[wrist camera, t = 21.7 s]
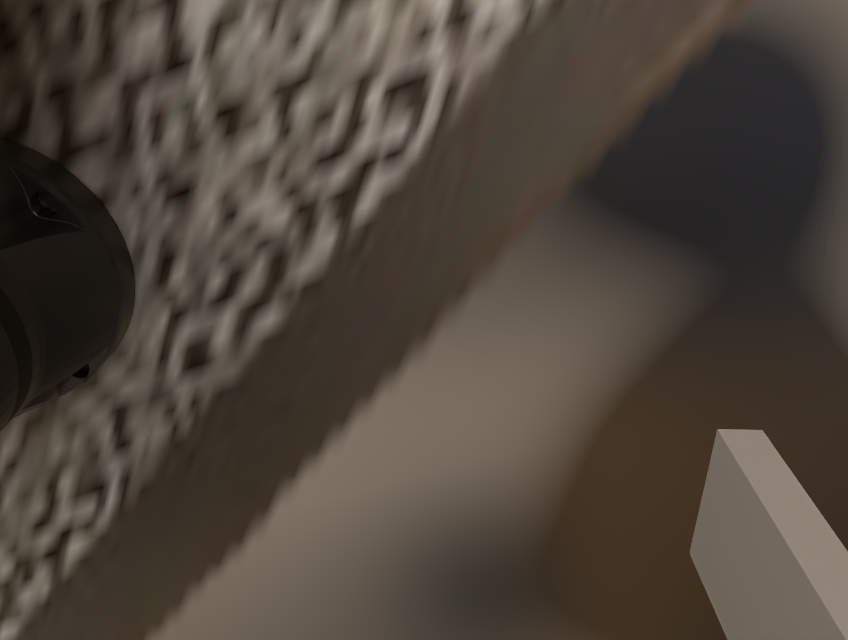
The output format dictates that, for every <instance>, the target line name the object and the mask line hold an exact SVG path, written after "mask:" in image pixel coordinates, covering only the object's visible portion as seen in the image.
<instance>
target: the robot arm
mask: <svg viewBox="0 0 848 640" xmlns="http://www.w3.org/2000/svg"><path fill="white" fill-rule="evenodd" d="M134 294H135V287H134V275H133V269H132V264H131V260H130V257H129V253H128V250H127V248H126V245H125V242H124V240H123V238H122V236H121V234H120V232H119V230H118V228H117V226H116V224H115V223H114V221H113V219H112V218H111V216H110V215H109V213H108V212H107V210H106V209H105V208H104V206H103V205H102V204H101V203H100V201H99V200H98V199H97V198H96V197H95V195H94V194H93V193H92V192H91V191H90V190H89V189H88V188H87V187H86V186H85V185H84V184H83V183H82V182H81V181H79V180H78V179H77V178H76V177H75V176H74V175H72V174H71V173H70V172H69V171H67V170H66V169H65V168H63V167H62V166H60V165H59V164H57V163H56V162H54V161H53V160H51V159H49V158H48V157H46V156H44V155H42V154H40V153H38V152H36V151H34V150H32V149H30V148H28V147H25V146H23V145H21V144H18V143H15V142H12V141H9V140H6V139H2V138H0V432H1V431H2V429H3V428H4V427H5V426H6V425H7V423H8V422H9V421H10V420H11V419H12V418H13V417H16V416H18V415H20V414H22V413H25V412H27V411H29V410H31V409H33V408H36V407H38V406H40V405H42V404H44V403H47V402H49V401H51V400H53V399H55V398H58V397H60V396H62V395H64V394H66V393H68V392H70V391H72V390H73V389H75V388H77V387H78V386H80V385H81V384H83V383H84V382H85V381H86V380H88V379H89V378H90V377H91V376H92V375H94V374H95V373H96V372H97V371H98V370H99V369H100V367H101V366H102V365H103V364H104V362H105V361H106V360H107V359H108V357H109V356H110V355H111V354H112V352H113V351H114V350H115V348H116V347H117V346H118V344H119V343H120V341H121V340H122V338H123V336H124V334H125V332H126V330H127V328H128V325H129V322H130V319H131V315H132V311H133V305H134ZM690 555H691V557H692V560H693V562H694V564H695V567H696V569H697V571H698V573H699V575H700V578H701V580H702V582H703V585H704V587H705V589H706V592H707V594H708V596H709V598H710V600H711V603H712V605H713V607H714V610H715V612H716V614H717V617H718V619H719V621H720V623H721V626H722V628H723V630H724V632H725V635H726V637H727V639H728V640H848V552H847V550H846V549H845V547H844V546H843V544H842V543H841V542H840V540H839V539H838V537H837V536H836V534H835V533H834V532H833V530H832V529H831V527H830V526H829V524H828V523H827V522H826V520H825V519H824V517H823V516H822V515H821V513H820V512H819V510H818V509H817V507H816V506H815V505H814V503H813V502H812V500H811V499H810V497H809V496H808V495H807V493H806V492H805V491H804V489H803V487H802V486H801V485H800V483H799V482H798V480H797V479H796V477H795V476H794V475H793V473H792V472H791V470H790V469H789V468H788V466H787V465H786V463H785V462H784V461H783V459H782V458H781V456H780V455H779V453H778V452H777V450H776V449H775V448H774V446H773V445H772V443H771V442H770V441H769V439H768V438H767V436H766V435H765V433H764V432H763V430H726V429H718V430H717V433H716V438H715V442H714V447H713V451H712V456H711V461H710V465H709V469H708V474H707V478H706V482H705V487H704V491H703V496H702V500H701V505H700V509H699V514H698V518H697V522H696V527H695V531H694V536H693V540H692V545H691V549H690Z"/></svg>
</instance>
